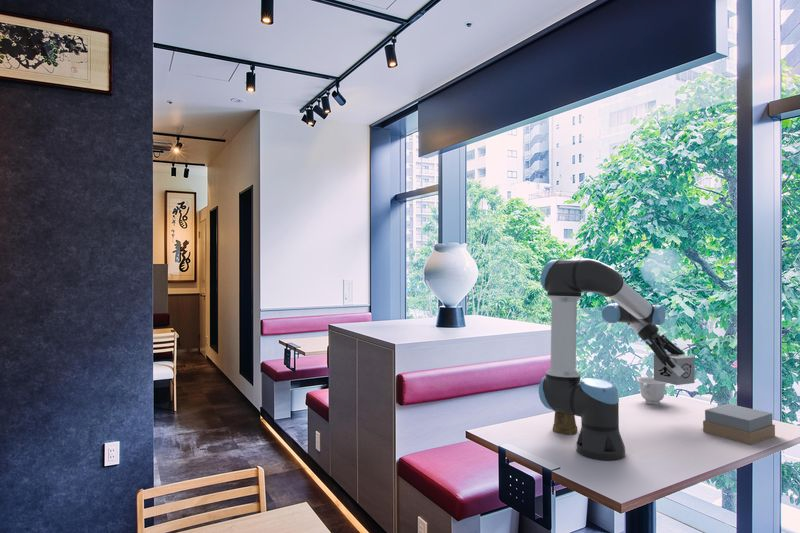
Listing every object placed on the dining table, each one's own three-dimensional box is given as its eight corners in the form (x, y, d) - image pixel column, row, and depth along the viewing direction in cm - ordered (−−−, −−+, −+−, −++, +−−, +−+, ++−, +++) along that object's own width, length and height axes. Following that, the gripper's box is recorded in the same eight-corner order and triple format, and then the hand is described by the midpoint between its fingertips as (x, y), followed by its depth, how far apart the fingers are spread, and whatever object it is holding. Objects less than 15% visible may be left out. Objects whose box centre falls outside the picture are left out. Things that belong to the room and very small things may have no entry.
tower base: (750, 444, 172) (750, 421, 172) (703, 431, 186) (702, 409, 186) (775, 435, 179) (774, 413, 179) (727, 423, 193) (727, 403, 193)
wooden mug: (589, 428, 192) (588, 381, 192) (568, 436, 184) (567, 387, 184) (568, 422, 200) (567, 377, 199) (547, 430, 191) (546, 383, 191)
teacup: (630, 404, 223) (629, 381, 222) (644, 397, 233) (643, 376, 233) (659, 409, 214) (658, 386, 214) (672, 402, 224) (671, 379, 224)
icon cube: (671, 378, 204) (671, 353, 204) (694, 383, 195) (694, 357, 195) (653, 379, 200) (653, 354, 200) (676, 385, 190) (677, 358, 191)
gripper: (649, 331, 214) (690, 373, 203) (625, 336, 199) (668, 382, 188) (662, 319, 211) (705, 361, 199) (638, 324, 195) (683, 370, 184)
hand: (687, 372), depth 193 cm, fingers closed on icon cube, 10 cm apart
